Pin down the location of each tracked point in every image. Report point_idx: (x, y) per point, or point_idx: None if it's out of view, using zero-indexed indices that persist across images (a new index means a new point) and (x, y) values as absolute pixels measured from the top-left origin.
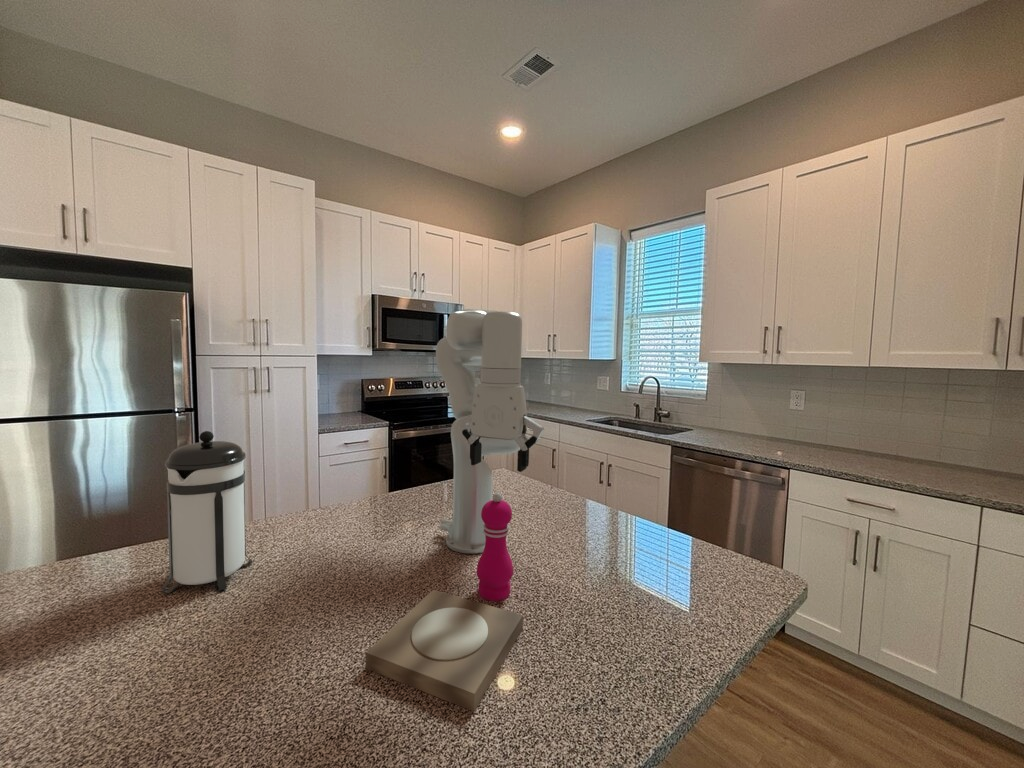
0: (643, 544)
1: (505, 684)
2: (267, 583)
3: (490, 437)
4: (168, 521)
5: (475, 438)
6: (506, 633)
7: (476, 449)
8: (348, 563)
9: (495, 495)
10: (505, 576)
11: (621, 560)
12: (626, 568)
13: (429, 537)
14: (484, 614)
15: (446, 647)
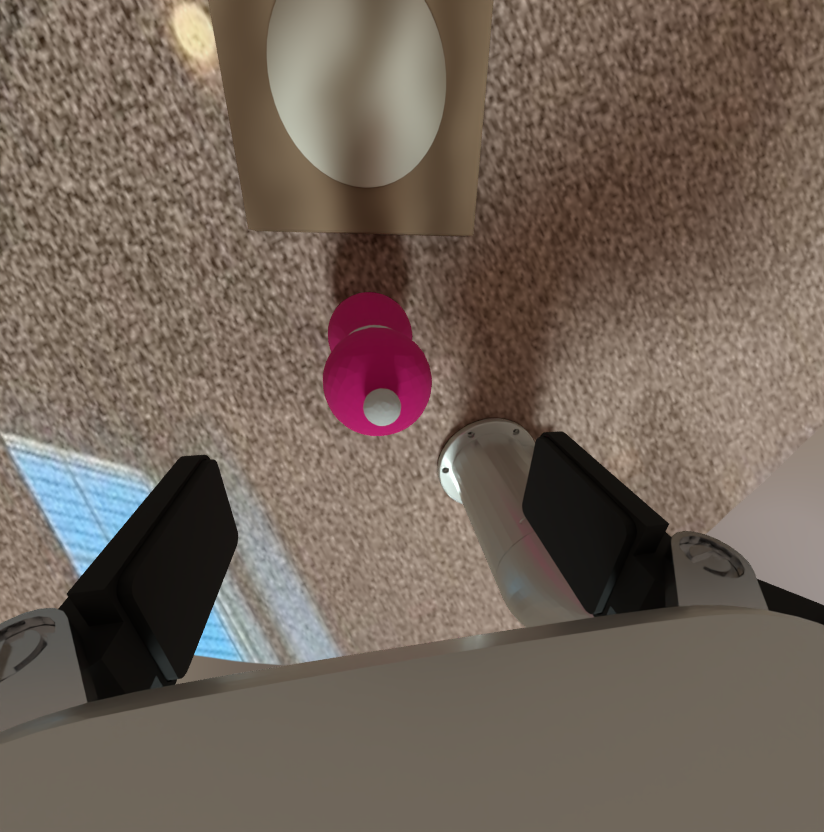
0: None
1: (191, 22)
2: (811, 143)
3: (497, 640)
4: None
5: (692, 599)
6: (244, 139)
7: (593, 525)
8: (681, 287)
9: (384, 399)
10: (332, 315)
11: None
12: None
13: None
14: (325, 191)
15: (334, 3)
